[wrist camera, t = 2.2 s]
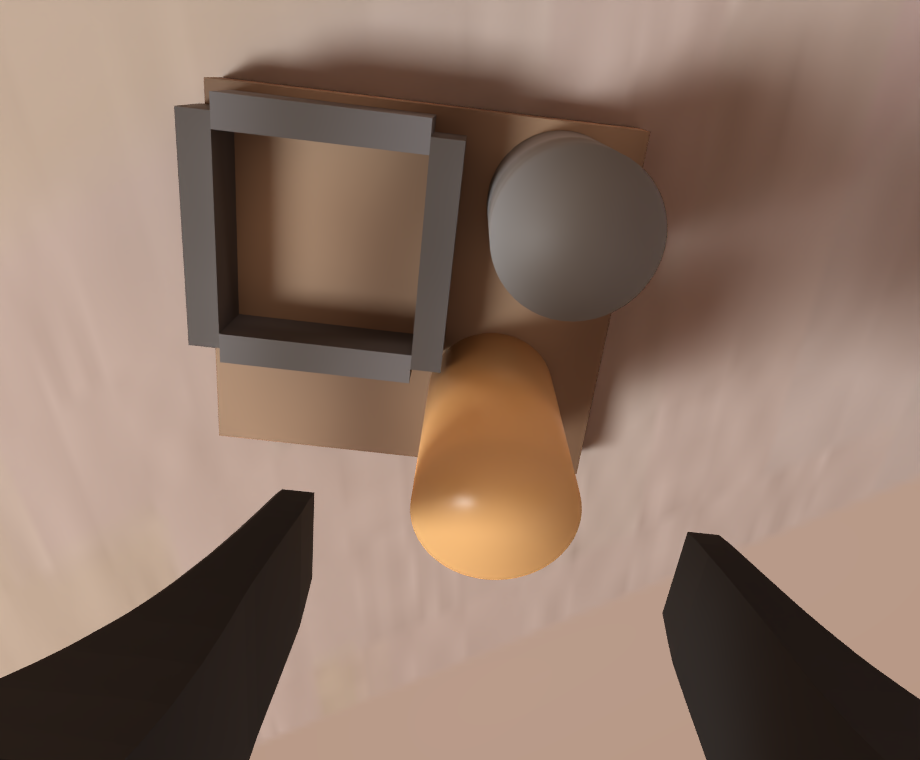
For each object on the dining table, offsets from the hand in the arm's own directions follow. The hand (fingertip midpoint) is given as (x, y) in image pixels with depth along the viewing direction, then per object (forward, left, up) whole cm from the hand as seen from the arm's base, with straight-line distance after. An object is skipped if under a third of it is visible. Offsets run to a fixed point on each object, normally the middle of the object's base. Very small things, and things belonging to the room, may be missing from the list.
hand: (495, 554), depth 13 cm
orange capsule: (0, 0, -7) cm, 7 cm away
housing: (+2, -3, -9) cm, 9 cm away
